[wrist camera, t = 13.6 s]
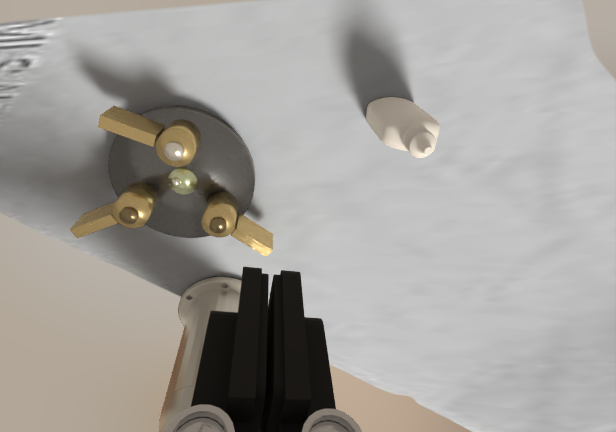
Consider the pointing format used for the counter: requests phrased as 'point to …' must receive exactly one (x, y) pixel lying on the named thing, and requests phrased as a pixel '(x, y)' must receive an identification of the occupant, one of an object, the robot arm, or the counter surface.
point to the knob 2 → (120, 211)
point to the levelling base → (186, 172)
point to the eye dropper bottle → (403, 125)
